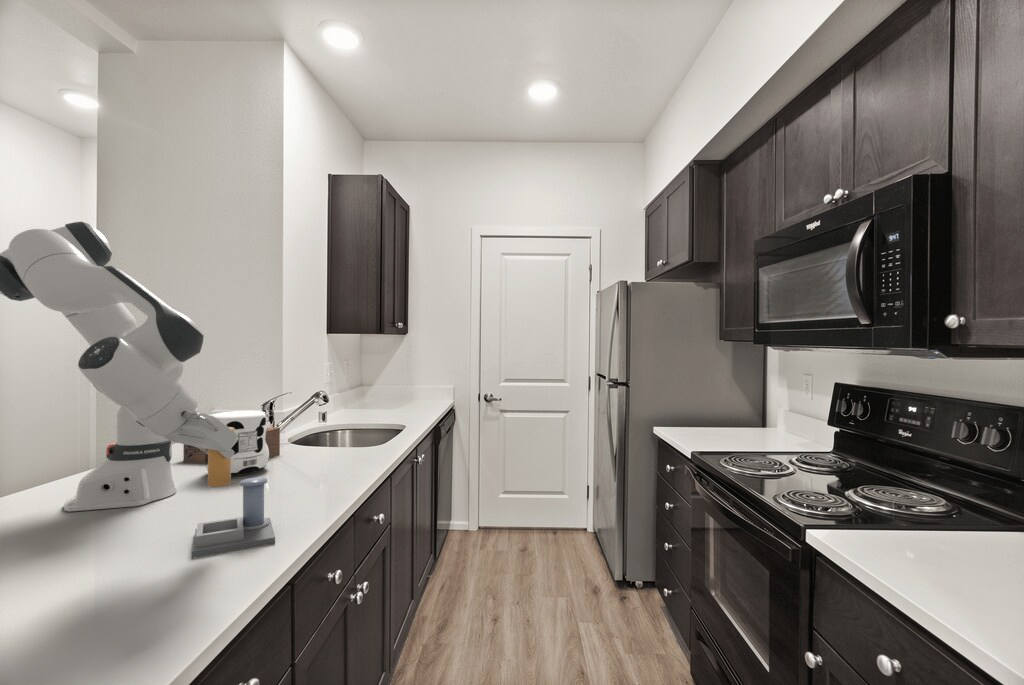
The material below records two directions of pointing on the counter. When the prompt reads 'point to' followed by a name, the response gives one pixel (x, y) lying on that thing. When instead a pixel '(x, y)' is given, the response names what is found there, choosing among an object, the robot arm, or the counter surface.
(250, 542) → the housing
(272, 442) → the tissue box cover
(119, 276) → the robot arm
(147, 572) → the counter surface
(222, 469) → the pin
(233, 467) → the milk container
